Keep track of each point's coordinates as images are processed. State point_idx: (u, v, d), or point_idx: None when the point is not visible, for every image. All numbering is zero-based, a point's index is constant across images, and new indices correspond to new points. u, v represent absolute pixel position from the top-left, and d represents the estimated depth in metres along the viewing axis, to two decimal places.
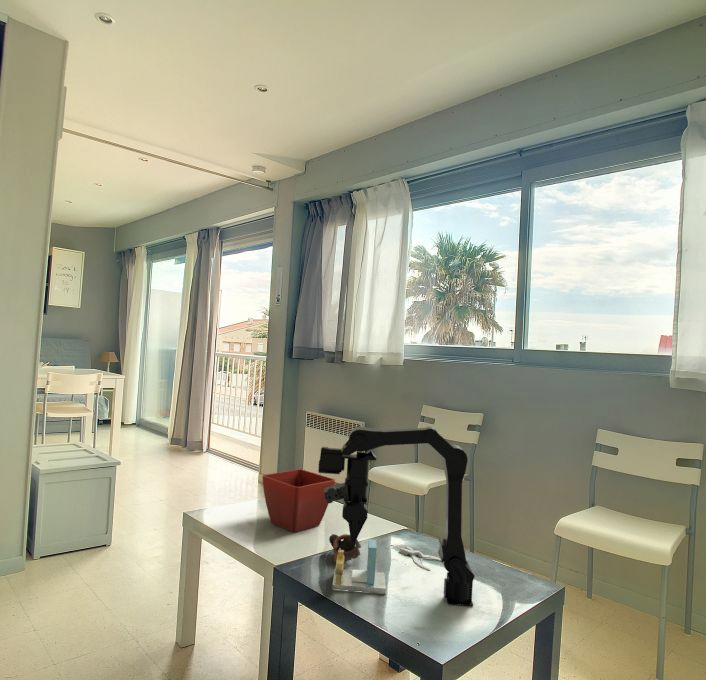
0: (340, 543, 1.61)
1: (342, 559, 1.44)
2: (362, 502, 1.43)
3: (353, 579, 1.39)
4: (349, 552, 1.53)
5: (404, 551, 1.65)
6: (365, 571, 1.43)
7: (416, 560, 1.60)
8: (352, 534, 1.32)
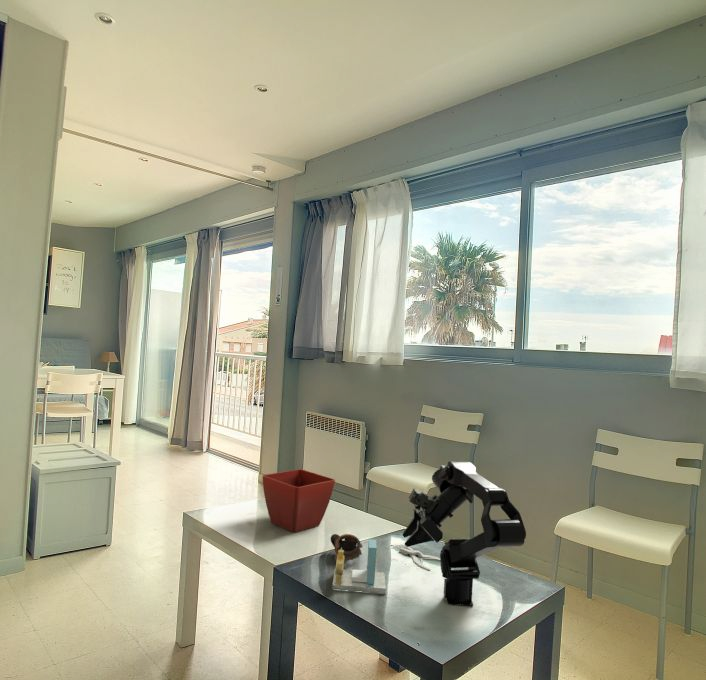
0: (341, 543, 1.61)
1: (342, 559, 1.44)
2: None
3: (353, 579, 1.39)
4: (351, 552, 1.53)
5: (404, 551, 1.65)
6: (365, 571, 1.43)
7: (416, 560, 1.60)
8: (411, 540, 1.37)
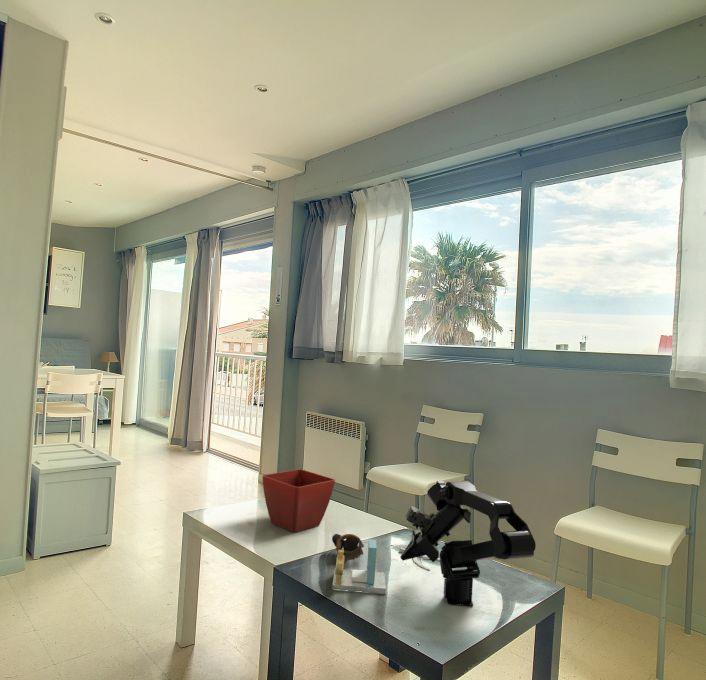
0: (343, 543, 1.62)
1: (342, 559, 1.44)
2: None
3: (353, 579, 1.39)
4: (352, 551, 1.54)
5: None
6: (365, 571, 1.43)
7: (416, 560, 1.60)
8: (406, 554, 1.41)
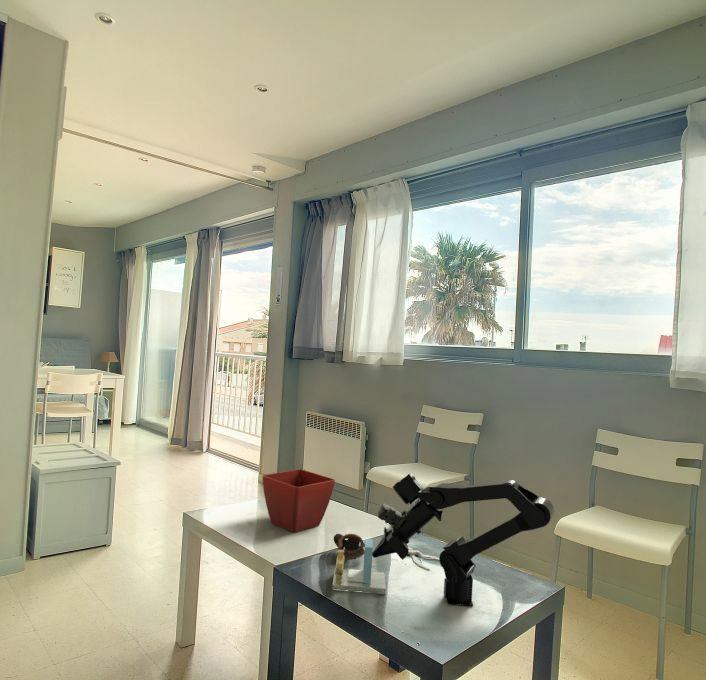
0: (344, 542, 1.62)
1: (342, 559, 1.44)
2: None
3: (349, 579, 1.39)
4: (354, 551, 1.54)
5: None
6: (361, 571, 1.43)
7: (416, 560, 1.60)
8: (377, 551, 1.41)
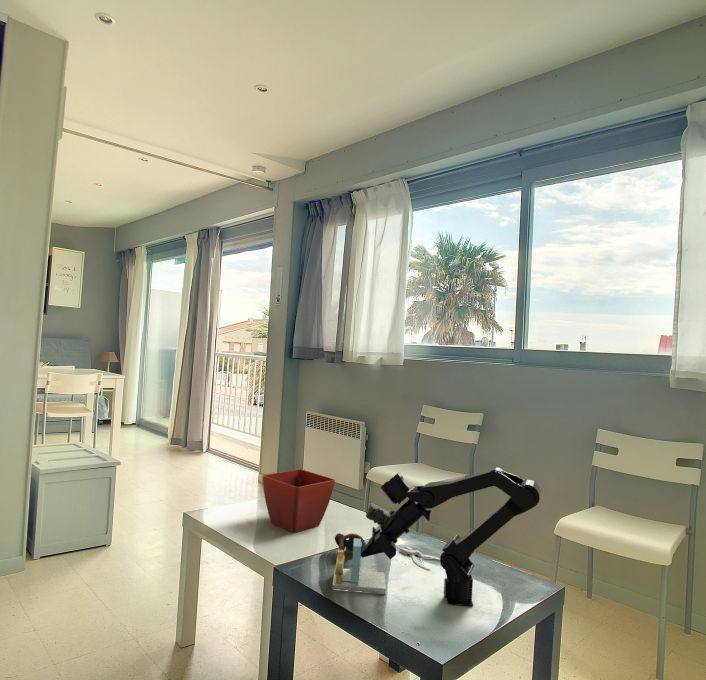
0: (346, 542, 1.62)
1: (342, 559, 1.44)
2: None
3: None
4: None
5: (403, 551, 1.65)
6: (350, 570, 1.43)
7: (415, 560, 1.60)
8: (366, 551, 1.41)
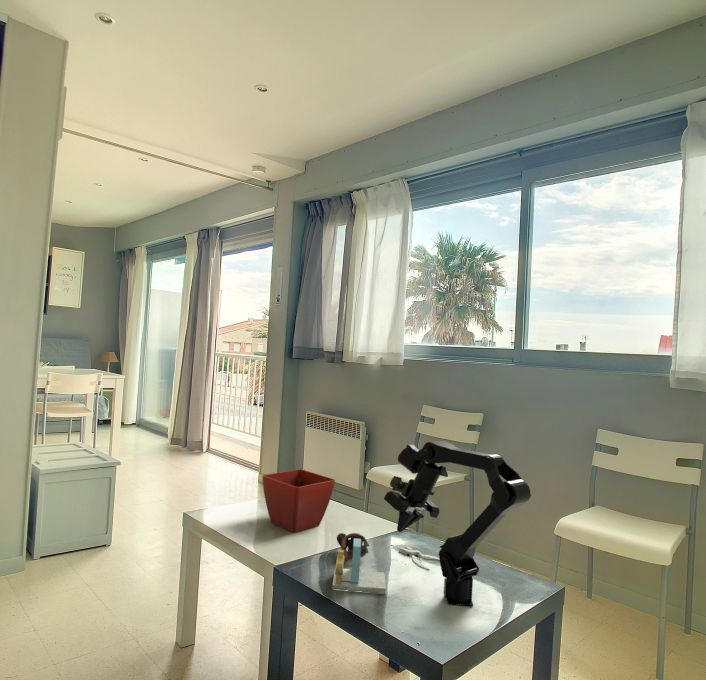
0: (347, 542, 1.63)
1: (342, 559, 1.44)
2: (418, 514, 1.46)
3: None
4: None
5: (403, 551, 1.65)
6: (350, 570, 1.43)
7: (415, 560, 1.60)
8: (399, 523, 1.46)
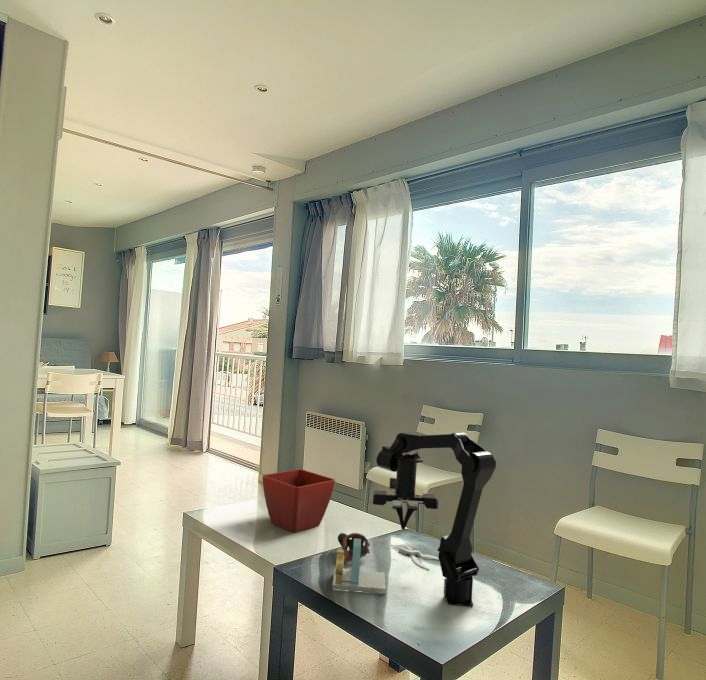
0: (348, 542, 1.63)
1: (342, 559, 1.44)
2: (411, 507, 1.51)
3: None
4: None
5: (403, 551, 1.65)
6: (350, 570, 1.43)
7: (415, 560, 1.60)
8: None
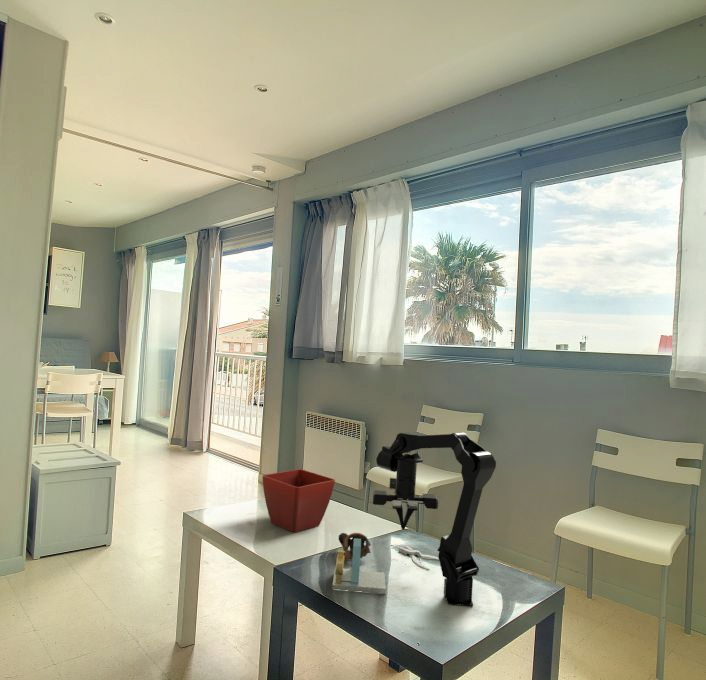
0: (349, 541, 1.63)
1: (342, 559, 1.44)
2: (411, 507, 1.51)
3: None
4: None
5: (403, 551, 1.66)
6: (350, 570, 1.43)
7: (415, 560, 1.60)
8: None
